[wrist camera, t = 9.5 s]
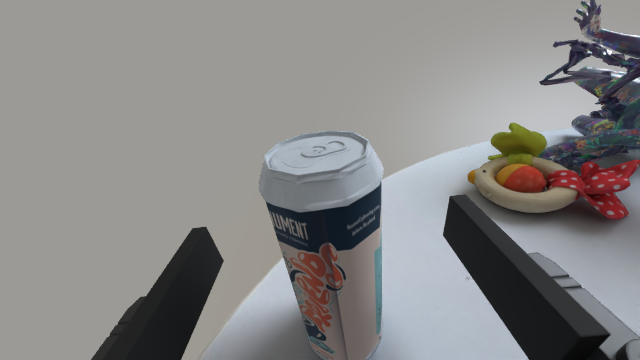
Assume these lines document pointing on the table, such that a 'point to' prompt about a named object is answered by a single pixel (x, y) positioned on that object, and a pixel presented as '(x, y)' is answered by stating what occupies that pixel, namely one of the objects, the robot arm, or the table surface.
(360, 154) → the beer can
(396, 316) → the table surface
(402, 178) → the table surface
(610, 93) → the figurine
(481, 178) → the bird rattle
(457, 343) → the table surface
